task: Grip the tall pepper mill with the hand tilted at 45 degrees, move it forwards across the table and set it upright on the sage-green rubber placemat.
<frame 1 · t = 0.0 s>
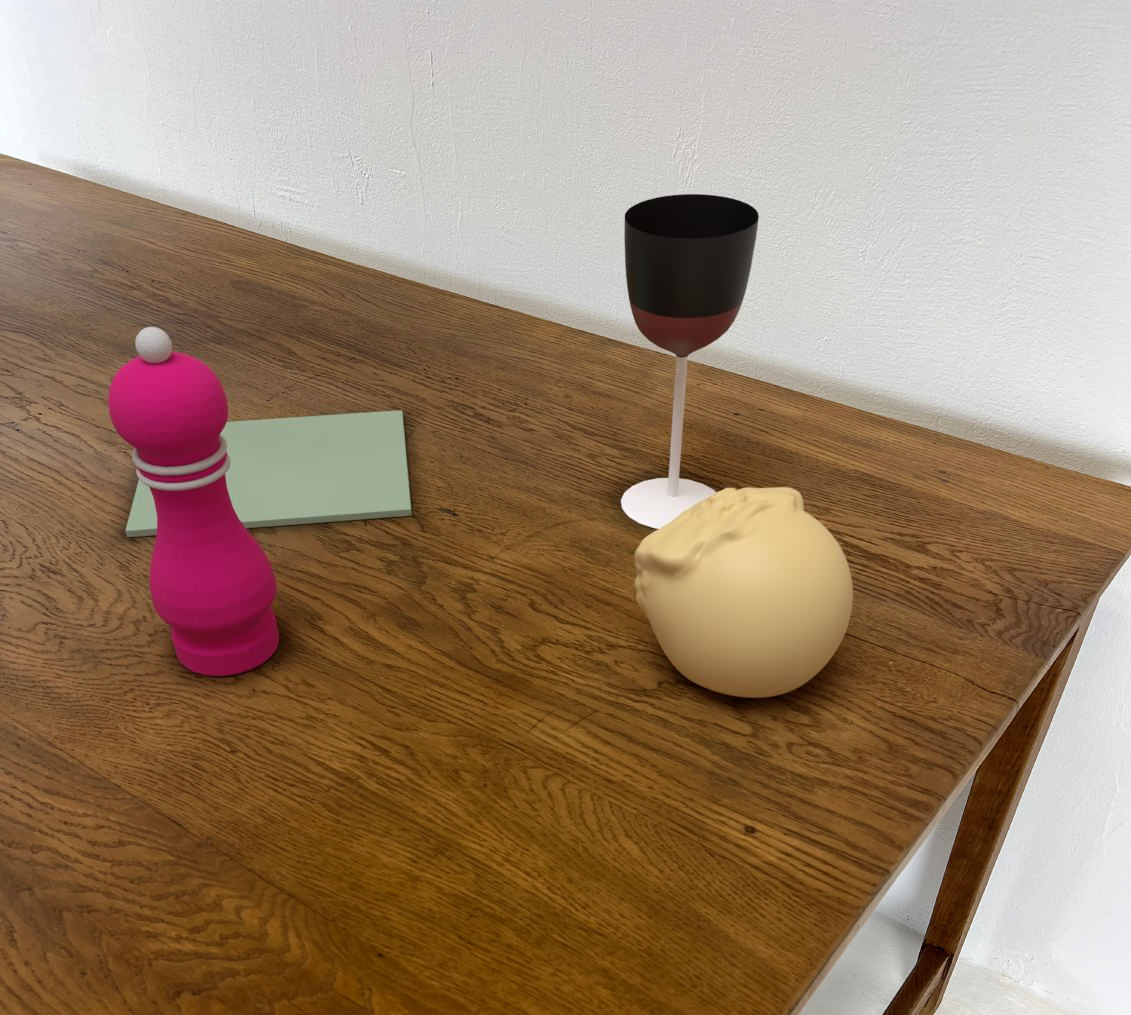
pepper mill: (229, 649, 71), on the table
wineglass: (671, 505, 84), on the table
sculpture: (737, 662, 70), on the table
placemat: (276, 472, 87), on the table
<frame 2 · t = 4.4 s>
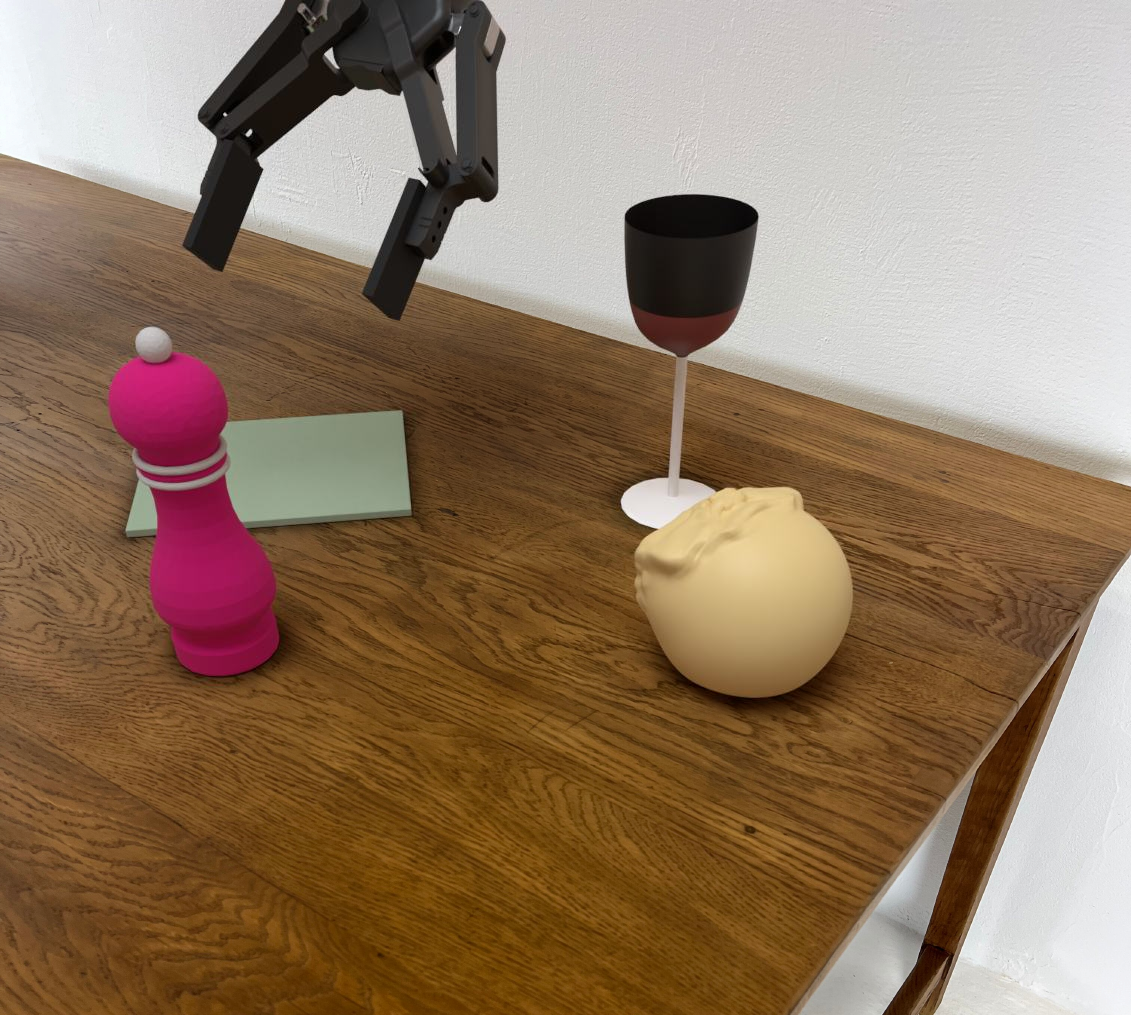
hand: (287, 283, 64), 19 cm above the table, tool tilted 45°, fingers open, 13 cm apart
nothing on the table moved.
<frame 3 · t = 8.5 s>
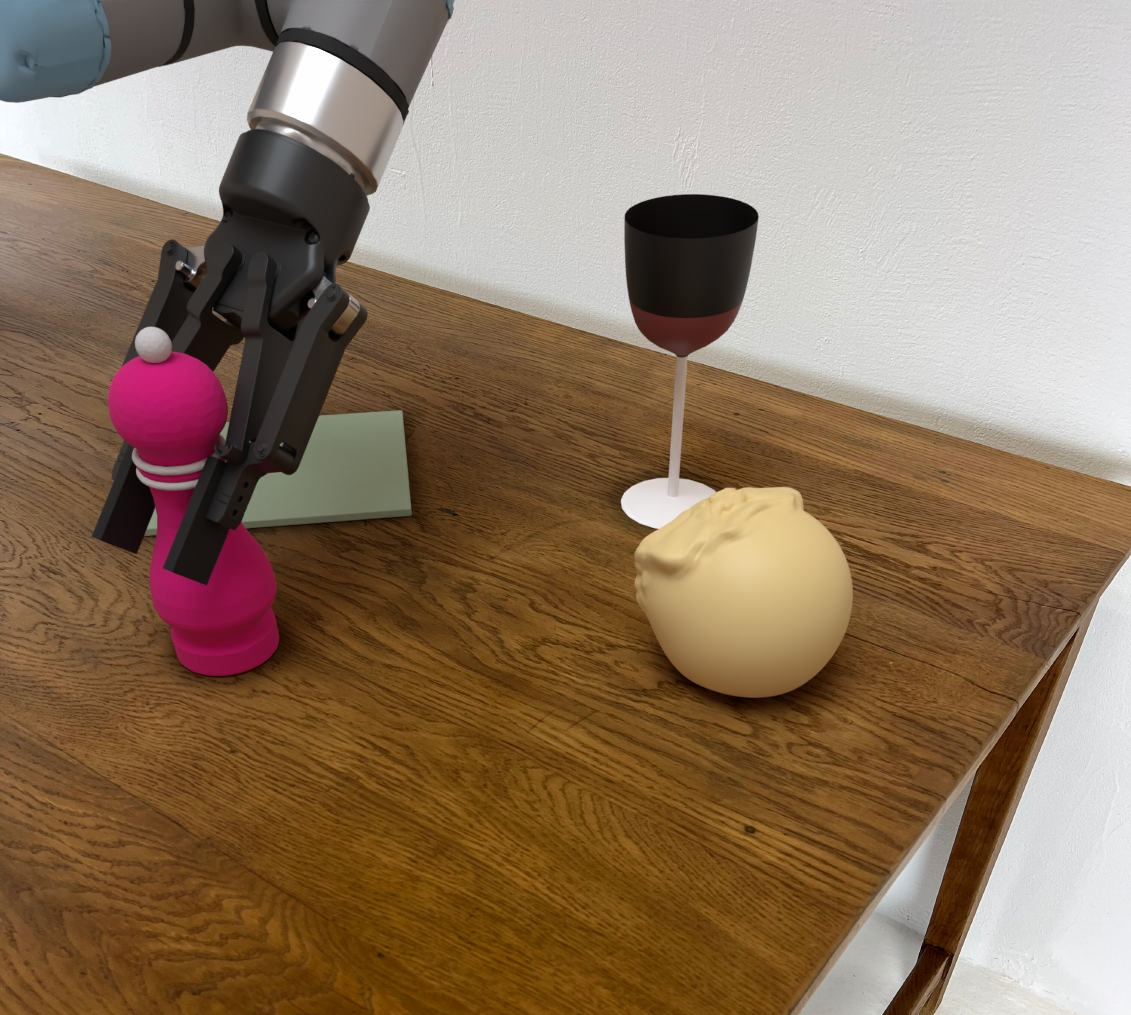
hand: (149, 560, 63), 8 cm above the table, tool tilted 45°, fingers closed on pepper mill, 5 cm apart
pepper mill: (229, 648, 71), on the table, touching gripper
everything else where it was.
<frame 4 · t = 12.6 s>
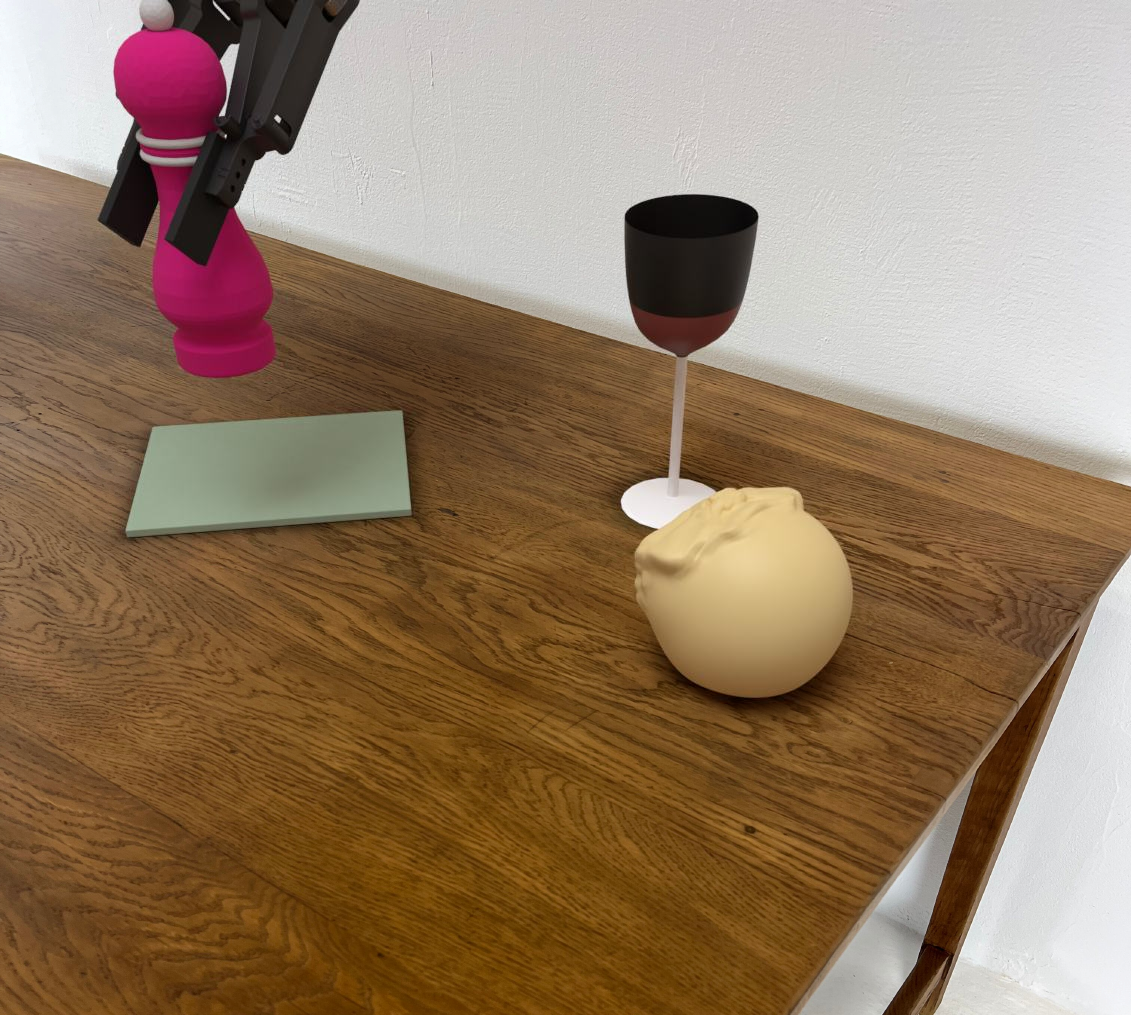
hand: (151, 242, 66), 20 cm above the table, tool tilted 45°, fingers closed on pepper mill, 5 cm apart
pepper mill: (228, 361, 74), point 12 cm above the table, touching gripper
everything else where it was.
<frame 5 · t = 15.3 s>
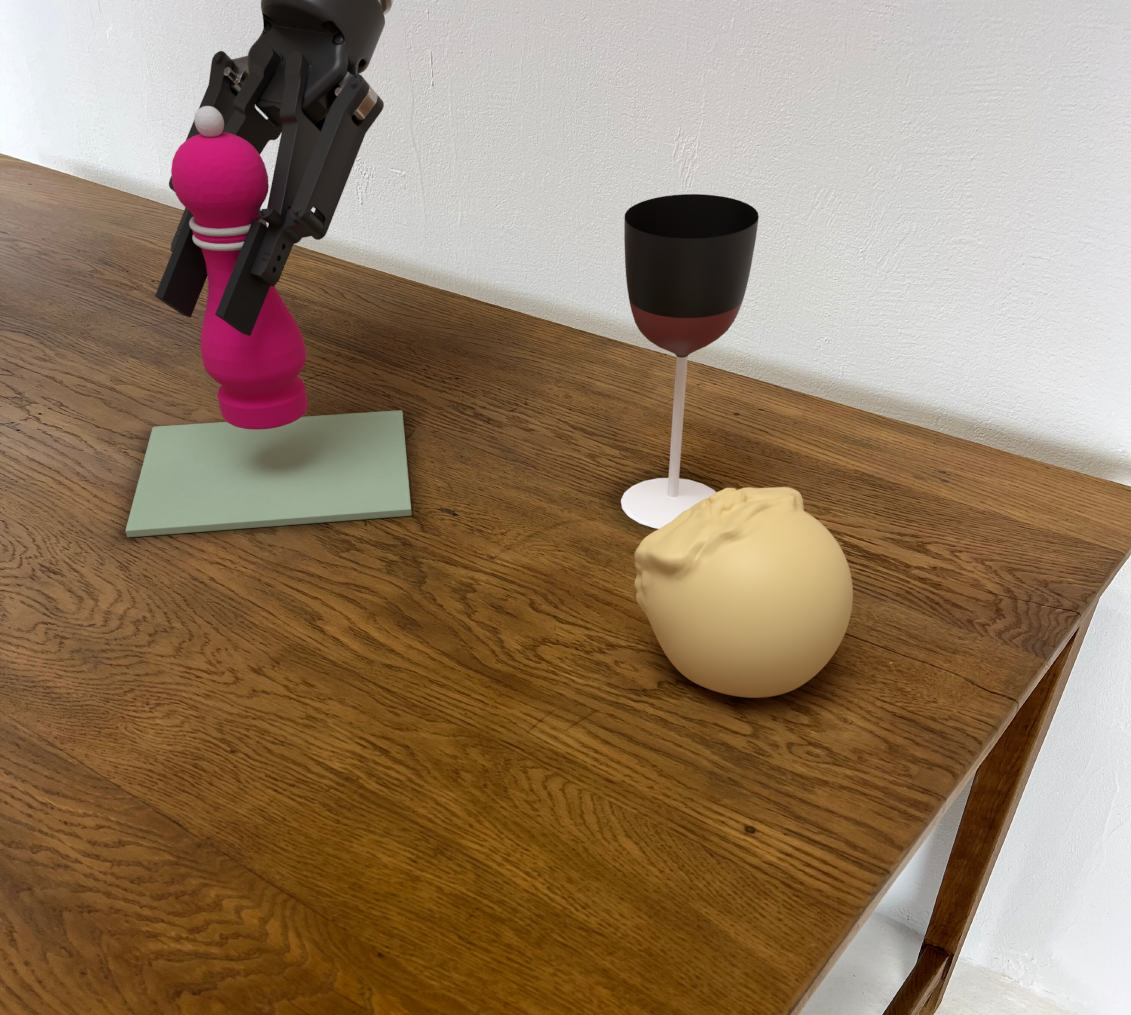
hand: (202, 315, 76), 13 cm above the table, tool tilted 45°, fingers closed on pepper mill, 5 cm apart
pepper mill: (265, 413, 84), point 5 cm above the table, touching gripper
everything else where it was.
when the fingers open (9 cm above the table, at t = 16.9 s): pepper mill stays where it is, resting on placemat.
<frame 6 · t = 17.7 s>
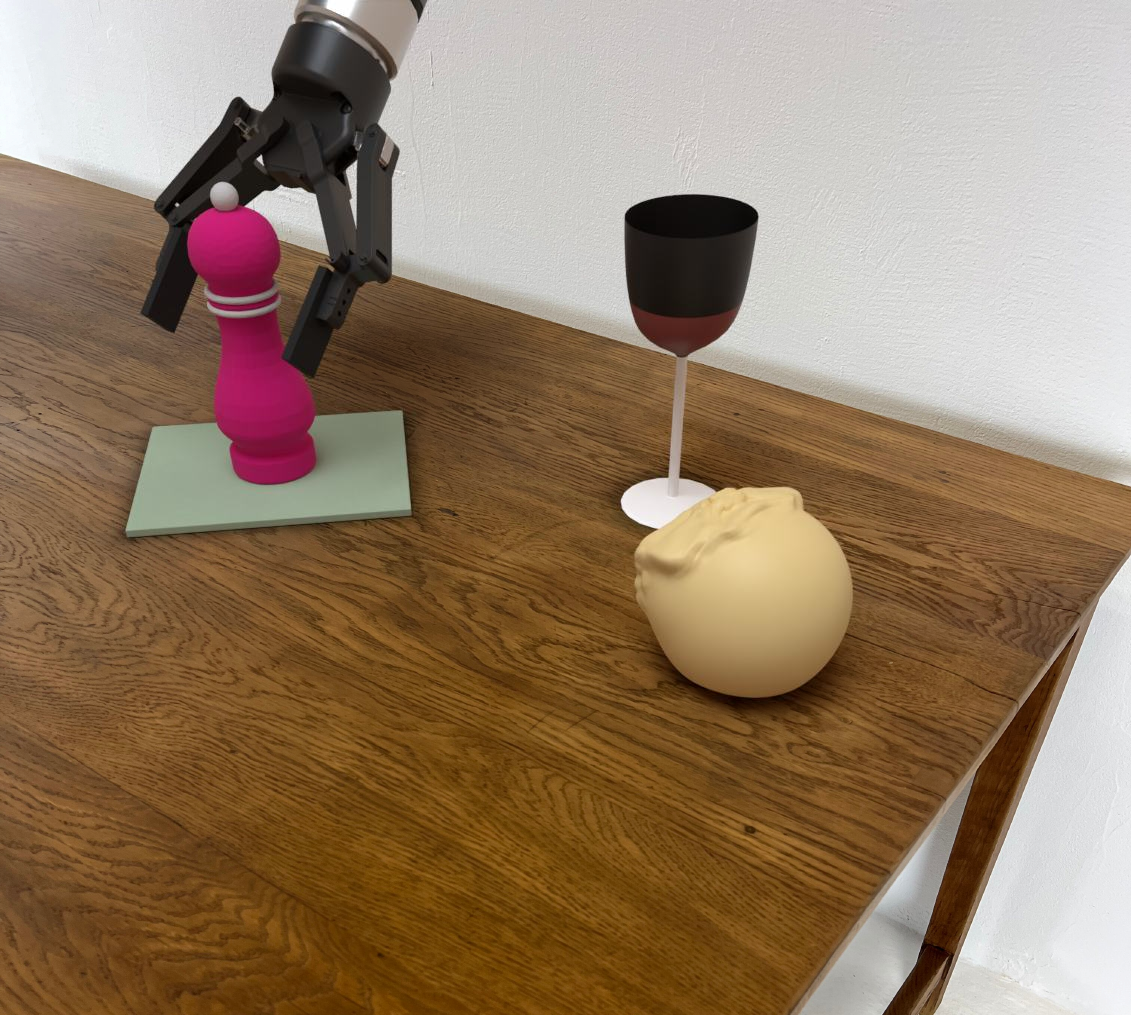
hand: (224, 345, 79), 11 cm above the table, tool tilted 45°, fingers open, 13 cm apart
pepper mill: (275, 467, 87), resting on placemat
everything else where it was.
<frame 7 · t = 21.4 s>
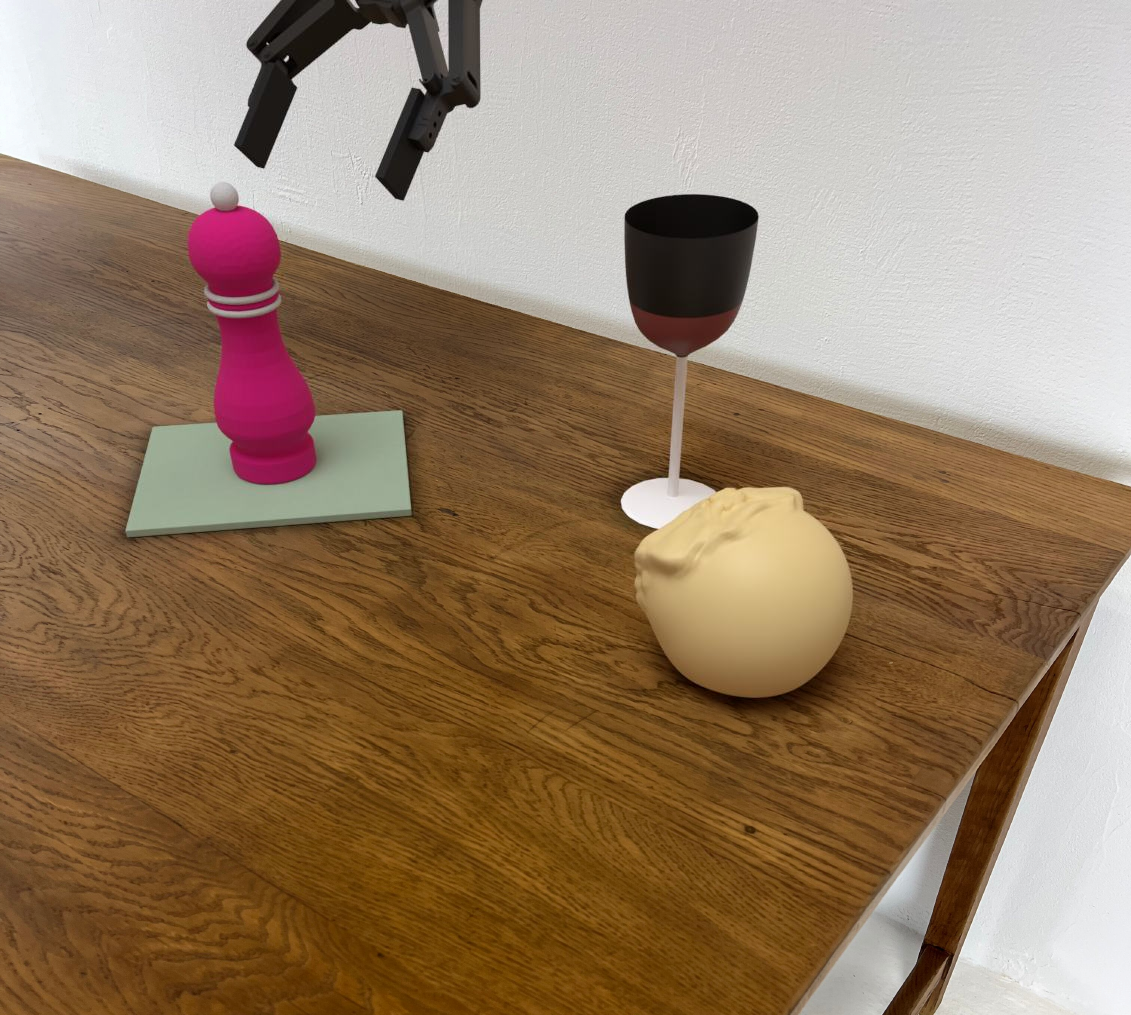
hand: (316, 173, 82), 18 cm above the table, tool tilted 45°, fingers open, 13 cm apart
nothing on the table moved.
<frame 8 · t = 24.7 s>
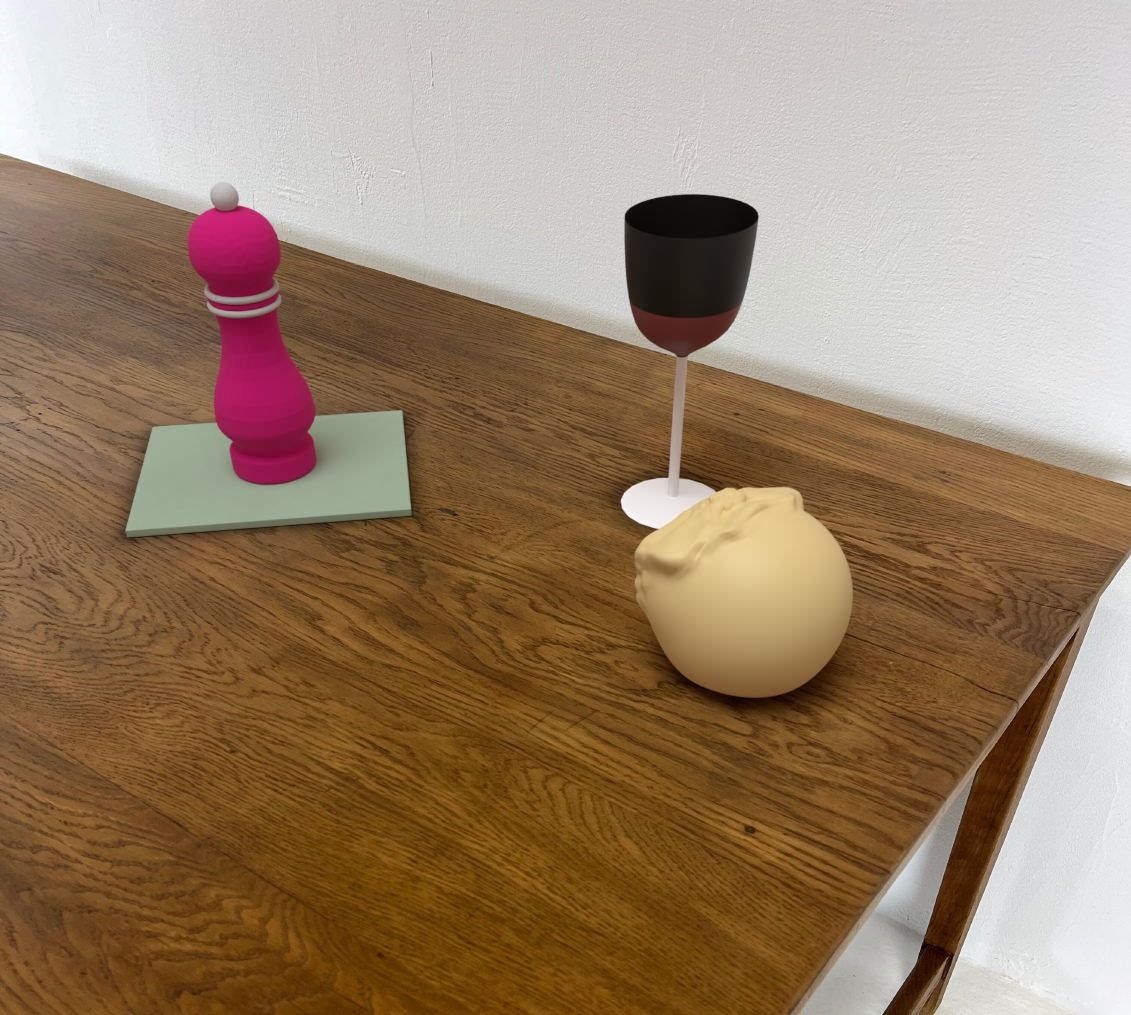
nothing on the table moved.
at the end: pepper mill inside the target area on the placemat (0.1 cm from its centre), point 0.4 cm above the placemat's base; pepper mill tilted 0°; the gripper is holding nothing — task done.
